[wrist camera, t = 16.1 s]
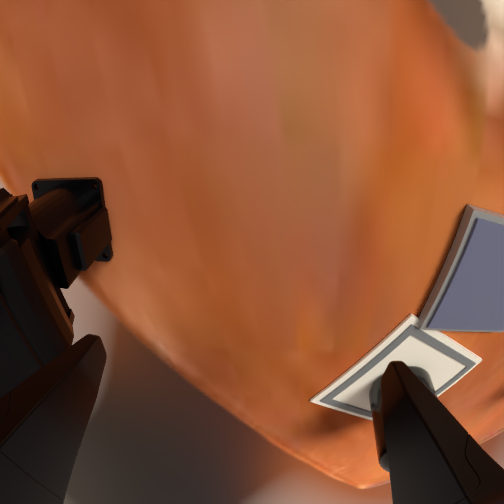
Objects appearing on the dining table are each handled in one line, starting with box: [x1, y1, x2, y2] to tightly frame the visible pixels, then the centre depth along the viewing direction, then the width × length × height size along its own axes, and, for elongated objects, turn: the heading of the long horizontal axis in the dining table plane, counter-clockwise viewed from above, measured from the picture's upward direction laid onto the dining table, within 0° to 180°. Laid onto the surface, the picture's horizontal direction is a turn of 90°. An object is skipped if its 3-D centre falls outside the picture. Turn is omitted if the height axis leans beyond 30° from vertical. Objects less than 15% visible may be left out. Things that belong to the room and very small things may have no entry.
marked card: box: [310, 313, 482, 420], centre depth 29 cm, size 14×14×1 cm
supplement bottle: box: [369, 366, 437, 472], centre depth 23 cm, size 7×7×12 cm
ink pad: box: [417, 204, 504, 332], centre depth 21 cm, size 11×11×1 cm
